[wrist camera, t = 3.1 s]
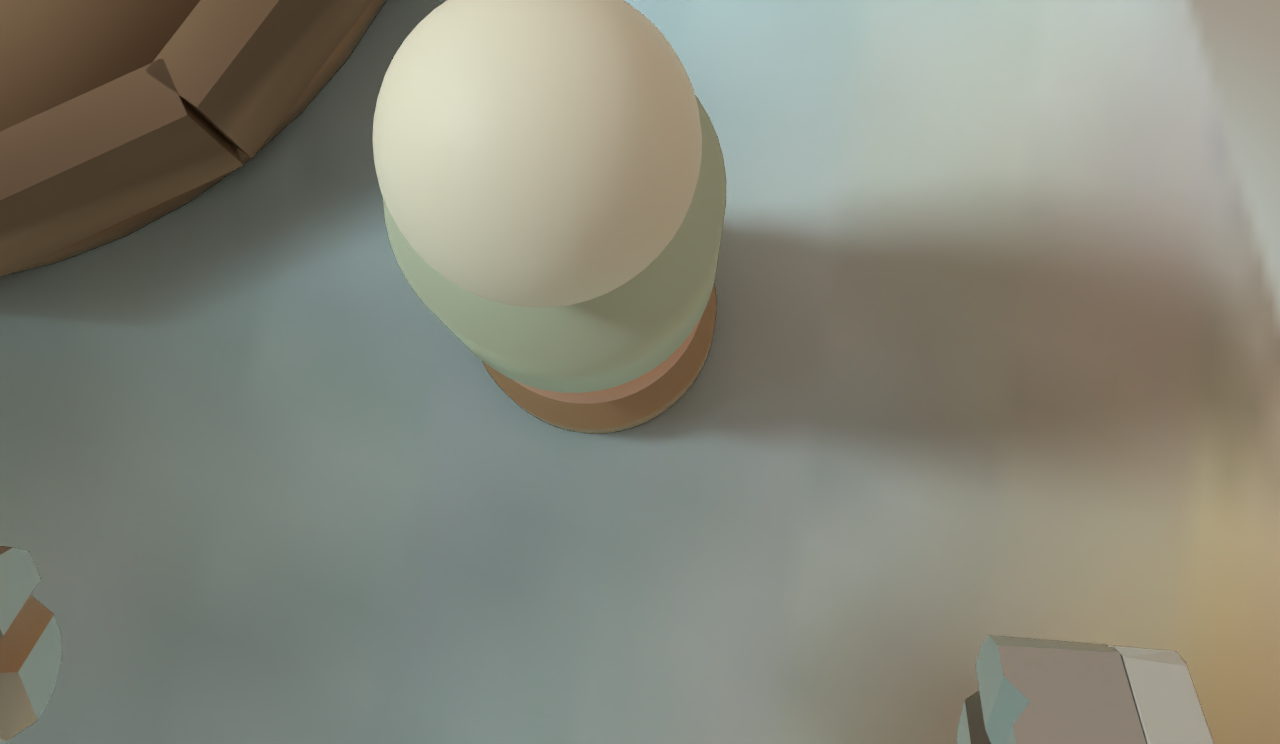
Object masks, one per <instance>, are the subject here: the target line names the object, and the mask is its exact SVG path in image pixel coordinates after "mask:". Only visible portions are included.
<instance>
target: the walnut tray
mask: <svg viewBox="0 0 1280 744" xmlns="http://www.w3.org/2000/svg"><path fill="white" fill-rule="evenodd" d="M385 2H386V0H0V277H2V276H5V275H9V274H13V273H17V272H21V271H25V270H29V269H33V268H37V267H41V266H45V265H49V264H53V263H57V262H60V261H63V260H65V259H68V258H70V257H73V256H75V255H78V254H81V253H83V252H86V251H88V250H91V249H94V248H96V247H99V246H101V245H104V244H107V243H109V242H112V241H114V240H117V239H119V238H122V237H125V236H127V235H129V234H131V233H133V232H134V231H136V230H138V229H140V228H142V227H144V226H146V225H148V224H149V223H151V222H153V221H155V220H157V219H159V218H161V217H162V216H164V215H166V214H168V213H170V212H172V211H174V210H176V209H177V208H179V207H181V206H183V205H185V204H187V203H189V202H190V201H192V200H193V199H195V198H196V197H198V196H199V195H200V194H202V193H203V192H205V191H206V190H207V189H209V188H210V187H212V186H213V185H215V184H216V183H217V182H219V181H220V180H222V179H223V178H224V177H226V176H227V175H229V174H230V173H232V172H233V171H234V170H236V169H237V168H239V167H242V166H244V165H243V164H244V163H246V162H247V161H249V160H250V159H251V158H253V157H254V156H255V154H256V153H258V152H259V151H260V150H261V149H262V148H263V147H264V146H265V145H266V144H267V143H269V142H270V141H271V140H272V139H273V138H274V137H275V136H276V135H277V134H279V133H280V132H281V131H282V130H283V129H284V128H285V127H286V126H287V125H288V124H290V123H291V122H292V121H293V120H294V119H295V118H296V117H297V116H298V115H299V114H301V113H302V112H303V110H304V109H305V108H306V107H307V106H308V105H309V103H310V102H311V101H312V100H313V99H314V98H315V97H316V95H317V94H318V93H319V92H320V91H321V90H322V88H323V87H324V86H325V85H326V84H327V83H328V81H329V80H330V79H331V78H332V77H333V76H334V74H335V73H336V72H337V71H338V70H339V69H340V67H341V66H342V65H343V64H344V63H345V62H346V60H347V59H348V58H349V56H350V55H351V53H352V52H353V50H354V49H355V47H356V46H357V44H358V43H359V41H360V40H361V38H362V37H363V35H364V34H365V32H366V31H367V29H368V28H369V26H370V25H371V23H372V21H373V20H374V18H375V17H376V15H377V14H378V12H379V11H380V9H381V8H382V6H383V5H384V3H385Z"/></svg>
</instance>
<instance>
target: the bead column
mask: <svg viewBox="0 0 1280 744" xmlns="http://www.w3.org/2000/svg"><path fill="white" fill-rule="evenodd" d="M372 140H373V152H374V163H375V169H376V173H377V178H378V182H379V187H380V190H381V193H382V195H383V205H384V217H385V224H386V228H387V233H388V237H389V241H390V244H391V247H392V250H393V252H394V255H395V258H396V261H397V263H398V265H399V267H400V269H401V270H402V272H403V274H404V276H405V278H406V280H407V282H408V283H409V284H410V286H411V287H412V289H413V290H414V291H415V293H416V294H417V295H418V297H419V298H420V300H421V301H422V302H423V303H424V304H425V305H426V306H427V307H428V308H429V309H430V310H431V311H432V312H433V313H434V314H435V315H436V316H437V317H438V318H439V319H440V320H441V321H442V322H443V323H444V324H445V325H446V326H447V327H448V328H449V329H450V330H451V331H452V332H453V333H454V334H455V335H456V336H457V337H458V338H459V339H460V340H461V341H462V342H463V343H464V344H465V345H466V346H467V347H468V348H469V349H470V350H471V351H472V352H473V353H474V354H475V355H476V356H477V357H479V358H480V359H481V360H482V362H483V364H484V366H485V367H486V369H487V371H488V372H489V374H490V375H491V377H492V378H493V379H494V381H495V382H496V383H497V385H498V386H499V387H500V388H501V389H502V390H503V391H504V392H505V393H506V394H507V395H508V396H509V397H510V398H511V399H512V400H513V401H514V402H516V403H517V404H518V405H519V406H520V407H522V408H523V409H524V410H525V411H527V412H528V413H530V414H531V415H533V416H535V417H536V418H538V419H540V420H541V421H544V422H546V423H548V424H550V425H553V426H555V427H558V428H562V429H565V430H569V431H574V432H581V433H610V432H618V431H622V430H626V429H630V428H633V427H636V426H638V425H641V424H643V423H646V422H648V421H650V420H651V419H653V418H655V417H657V416H659V415H660V414H662V413H663V412H665V411H666V410H667V409H669V408H670V407H671V406H673V405H674V404H675V403H676V402H677V401H678V400H679V399H680V398H681V397H682V396H683V395H684V394H685V393H686V392H687V390H688V389H689V388H690V387H691V385H692V384H693V383H694V381H695V380H696V378H697V376H698V375H699V373H700V371H701V370H702V368H703V365H704V363H705V361H706V358H707V356H708V353H709V349H710V346H711V342H712V338H713V332H714V326H715V319H716V290H715V283H714V281H715V276H716V269H717V262H718V255H719V248H720V241H721V234H722V227H723V220H724V213H725V206H726V174H725V167H724V159H723V155H722V151H721V148H720V144H719V140H718V137H717V135H716V132H715V130H714V127H713V125H712V123H711V120H710V118H709V116H708V115H707V113H706V111H705V109H704V108H703V106H702V104H701V103H700V101H699V99H698V98H697V97H696V95H695V94H694V90H693V87H692V85H691V82H690V80H689V78H688V75H687V73H686V70H685V68H684V67H683V65H682V63H681V61H680V60H679V58H678V56H677V55H676V53H675V51H674V50H673V48H672V46H671V45H670V43H669V42H668V41H667V40H666V38H665V37H664V36H663V35H662V33H661V32H660V31H659V29H658V28H657V27H655V26H654V25H653V24H652V23H651V22H650V21H649V20H648V19H647V18H646V17H645V16H644V15H643V14H642V13H640V12H639V11H638V10H636V9H635V8H634V7H632V6H631V5H630V4H628V3H627V2H625V1H624V0H447V1H445V2H444V3H442V4H441V5H440V6H438V7H437V8H435V9H434V10H433V11H432V12H431V13H429V14H428V15H427V16H426V17H425V18H424V19H423V20H422V21H421V22H420V23H418V25H417V26H416V27H415V28H414V29H413V30H412V32H411V33H410V34H409V35H408V36H407V37H406V39H405V40H404V41H403V43H402V45H401V46H400V48H399V49H398V51H397V52H396V54H395V55H394V57H393V59H392V61H391V63H390V65H389V67H388V69H387V72H386V74H385V76H384V79H383V83H382V86H381V89H380V92H379V95H378V98H377V103H376V109H375V114H374V119H373V139H372Z"/></svg>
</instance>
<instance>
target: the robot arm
mask: <svg viewBox="0 0 1280 744" xmlns="http://www.w3.org/2000/svg"><path fill="white" fill-rule="evenodd" d="M40 579H41V578H40V575H39V573H38V571H37V568H36V566H35V564H34V561H33V559H32V557H31V554H30V552H29V551H26V550H22V549H18V548H13V547H5V546H0V744H7V741H8V740H9V739H11V738H12V737H14V736H15V735H17V734H18V733H20V732H21V731H23V730H24V729H26V728H27V727H29V726H30V725H32V724H33V723H35V722H36V721H38V719H39V717H40V715H41V714H42V712H43V710H44V708H45V707H46V705H47V703H48V701H49V699H50V698H51V696H52V694H53V692H54V689H55V685H56V681H57V677H58V673H59V669H60V665H61V661H62V646H61V633H60V630H59V627H58V624H57V621H56V618H55V616H54V614H53V613H52V612H51V611H49V610H48V609H47V608H46V607H45V606H43V605H42V604H41V603H40V602H39V601H37V600H36V599H35V598H34V597H33V596H31V595H30V594H31V593H32V591H33V590H34V588H35V587H36V585H37V584H38V582H39V581H40ZM975 667H976V673H977V679H978V686H979V691H978V692H976V693H975V694H973V695H972V696H970V697H969V698H967V699H966V700H965V701H964V705H963V709H962V713H961V716H960V720H959V724H958V730H957V741H956V744H1214V741H1213V738H1212V735H1211V732H1210V729H1209V727H1208V724H1207V721H1206V718H1205V715H1204V712H1203V710H1202V707H1201V704H1200V701H1199V698H1198V695H1197V692H1196V690H1195V687H1194V684H1193V681H1192V678H1191V675H1190V673H1189V670H1188V667H1187V664H1186V662H1185V660H1184V659H1183V658H1182V657H1181V656H1180V655H1179V654H1178V653H1177V652H1176V651H1169V650H1158V649H1146V648H1134V647H1123V646H1111V647H1109V646H1108V645H1106V644H1094V643H1081V642H1069V641H1056V640H1044V639H1031V638H1019V637H1006V636H994V635H989V636H988V637H987V638H986V640H985V641H984V642H983V644H982V646H981V649H980V652H979V655H978V658H977V661H976V664H975Z"/></svg>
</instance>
